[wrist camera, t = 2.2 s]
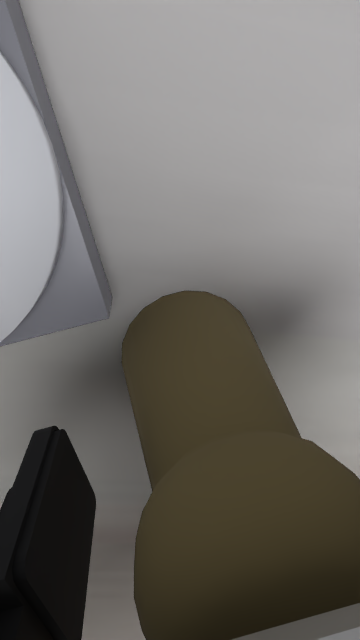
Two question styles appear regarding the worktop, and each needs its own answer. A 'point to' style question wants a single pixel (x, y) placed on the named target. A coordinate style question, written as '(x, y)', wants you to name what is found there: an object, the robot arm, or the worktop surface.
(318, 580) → the cork
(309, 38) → the worktop surface
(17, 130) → the kitchen scale
